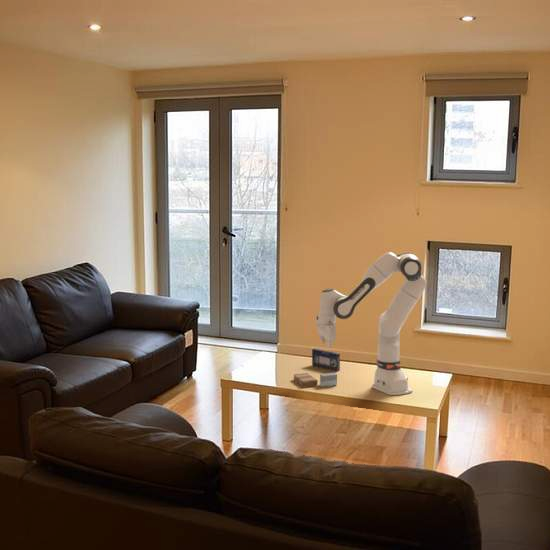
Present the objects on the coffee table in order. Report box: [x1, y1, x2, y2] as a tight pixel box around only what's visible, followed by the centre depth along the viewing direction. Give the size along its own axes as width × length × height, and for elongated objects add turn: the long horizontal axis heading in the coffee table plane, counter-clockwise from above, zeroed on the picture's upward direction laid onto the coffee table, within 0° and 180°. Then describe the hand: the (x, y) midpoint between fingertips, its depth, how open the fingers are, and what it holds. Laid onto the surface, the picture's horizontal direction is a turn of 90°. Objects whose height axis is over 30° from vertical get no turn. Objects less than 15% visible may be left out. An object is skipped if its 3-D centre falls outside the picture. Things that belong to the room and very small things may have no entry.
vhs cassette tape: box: [311, 348, 341, 372], centre depth 391 cm, size 18×3×10 cm, turn 48°
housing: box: [319, 372, 338, 387], centre depth 360 cm, size 4×8×6 cm, turn 109°
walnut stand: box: [293, 372, 318, 388], centre depth 364 cm, size 14×8×3 cm, turn 20°
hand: (326, 345), depth 359 cm, fingers open, 8 cm apart
